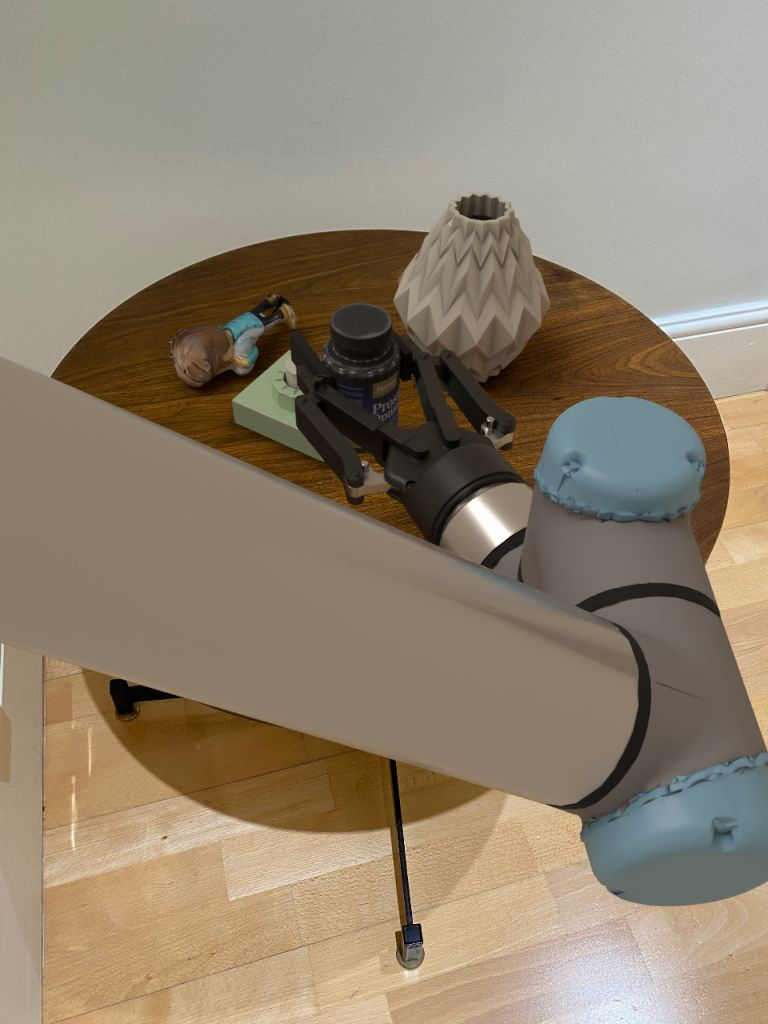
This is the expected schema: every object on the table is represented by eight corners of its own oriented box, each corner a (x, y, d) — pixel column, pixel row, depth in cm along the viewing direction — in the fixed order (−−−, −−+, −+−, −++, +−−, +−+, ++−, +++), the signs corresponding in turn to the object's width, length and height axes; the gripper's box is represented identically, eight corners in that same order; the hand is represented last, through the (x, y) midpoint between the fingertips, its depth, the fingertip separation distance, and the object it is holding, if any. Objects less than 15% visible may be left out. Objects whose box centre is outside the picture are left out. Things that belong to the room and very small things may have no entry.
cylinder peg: (279, 383, 87) (277, 367, 86) (299, 364, 89) (298, 348, 88) (309, 396, 86) (308, 379, 84) (329, 376, 88) (328, 360, 87)
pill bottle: (383, 464, 70) (386, 352, 62) (313, 446, 72) (306, 334, 64) (407, 417, 74) (412, 306, 66) (340, 401, 76) (337, 290, 68)
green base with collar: (234, 422, 90) (229, 384, 86) (290, 371, 96) (288, 334, 92) (323, 462, 86) (322, 424, 83) (376, 407, 92) (377, 369, 88)
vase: (551, 338, 101) (581, 185, 87) (513, 425, 91) (541, 266, 77) (419, 306, 105) (428, 155, 91) (368, 386, 94) (370, 229, 81)
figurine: (162, 372, 95) (152, 326, 91) (273, 316, 103) (269, 271, 98) (203, 405, 92) (195, 358, 87) (315, 345, 99) (313, 298, 95)
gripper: (353, 608, 57) (227, 403, 71) (589, 512, 63) (431, 341, 77) (352, 532, 52) (216, 325, 65) (611, 435, 58) (437, 265, 72)
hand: (333, 334), depth 71 cm, fingers closed on pill bottle, 6 cm apart
